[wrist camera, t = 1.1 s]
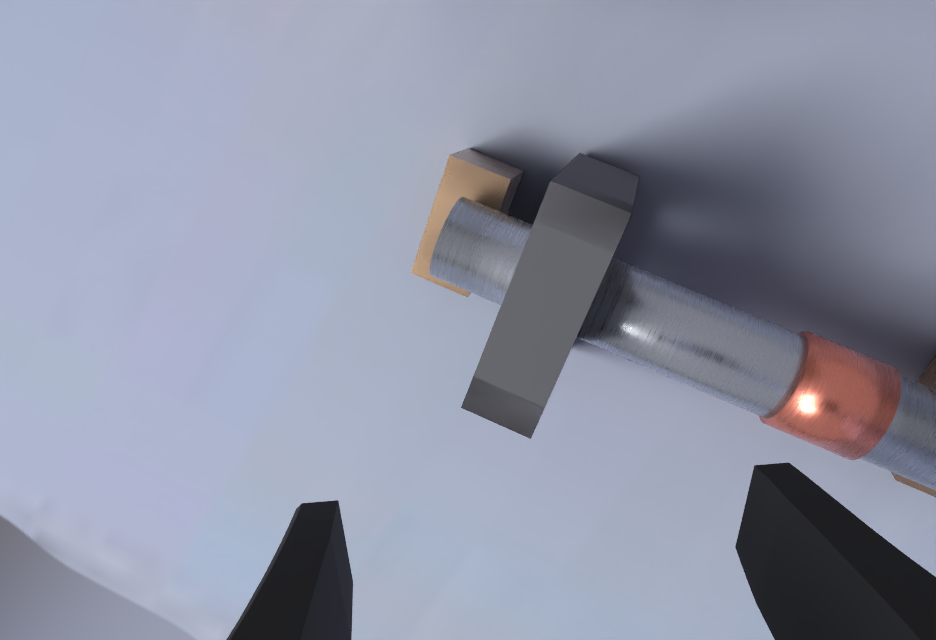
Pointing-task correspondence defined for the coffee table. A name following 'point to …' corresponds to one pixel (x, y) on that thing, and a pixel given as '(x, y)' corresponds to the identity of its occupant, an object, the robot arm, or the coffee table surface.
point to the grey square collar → (551, 292)
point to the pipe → (694, 335)
